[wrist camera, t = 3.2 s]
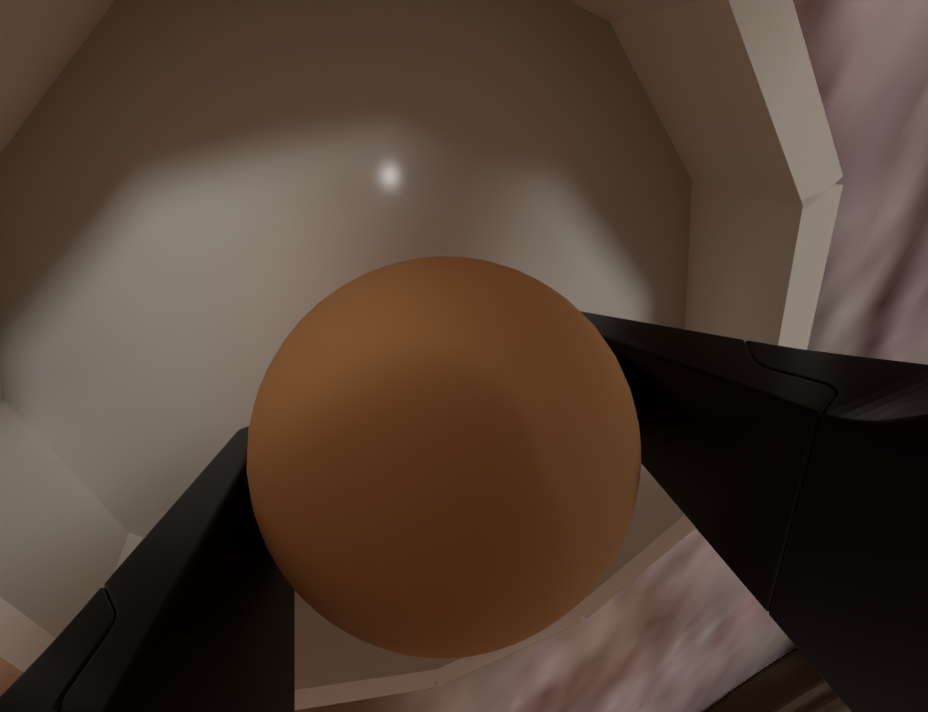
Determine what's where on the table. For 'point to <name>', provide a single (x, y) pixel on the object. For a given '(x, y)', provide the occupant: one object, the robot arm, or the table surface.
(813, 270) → the bowl
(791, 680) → the plant saucer
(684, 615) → the table surface
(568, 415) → the ball
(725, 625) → the table surface
